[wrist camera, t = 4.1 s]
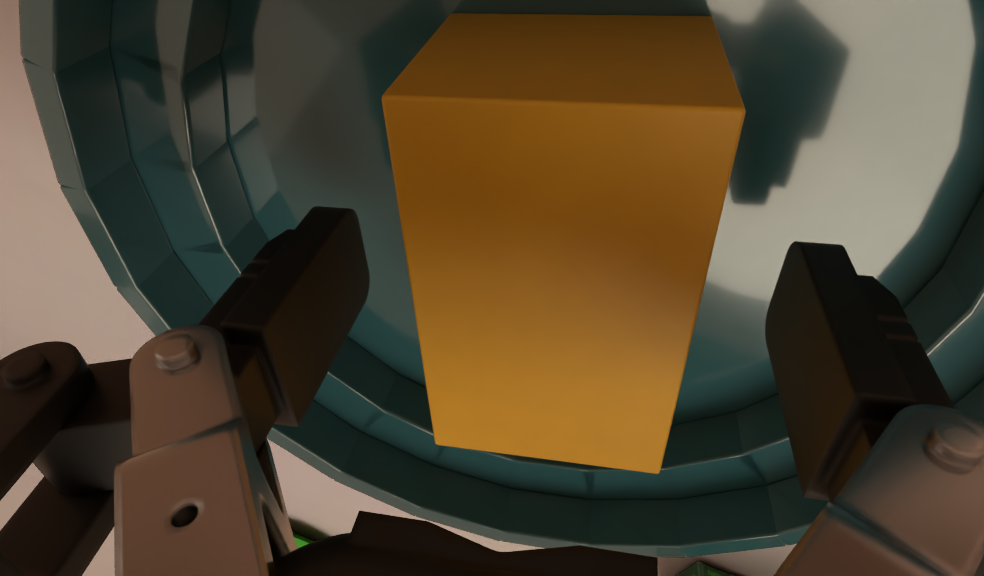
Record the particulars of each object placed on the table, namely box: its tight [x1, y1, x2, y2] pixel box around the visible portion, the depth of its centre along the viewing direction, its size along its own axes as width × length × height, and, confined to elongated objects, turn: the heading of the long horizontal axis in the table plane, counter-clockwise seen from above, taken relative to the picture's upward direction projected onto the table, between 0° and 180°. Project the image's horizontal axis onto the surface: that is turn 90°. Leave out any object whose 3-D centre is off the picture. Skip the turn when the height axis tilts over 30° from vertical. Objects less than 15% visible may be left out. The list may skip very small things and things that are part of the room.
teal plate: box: [19, 0, 984, 558], centre depth 12 cm, size 19×19×3 cm
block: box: [382, 13, 746, 474], centre depth 11 cm, size 8×5×4 cm, turn 3°
